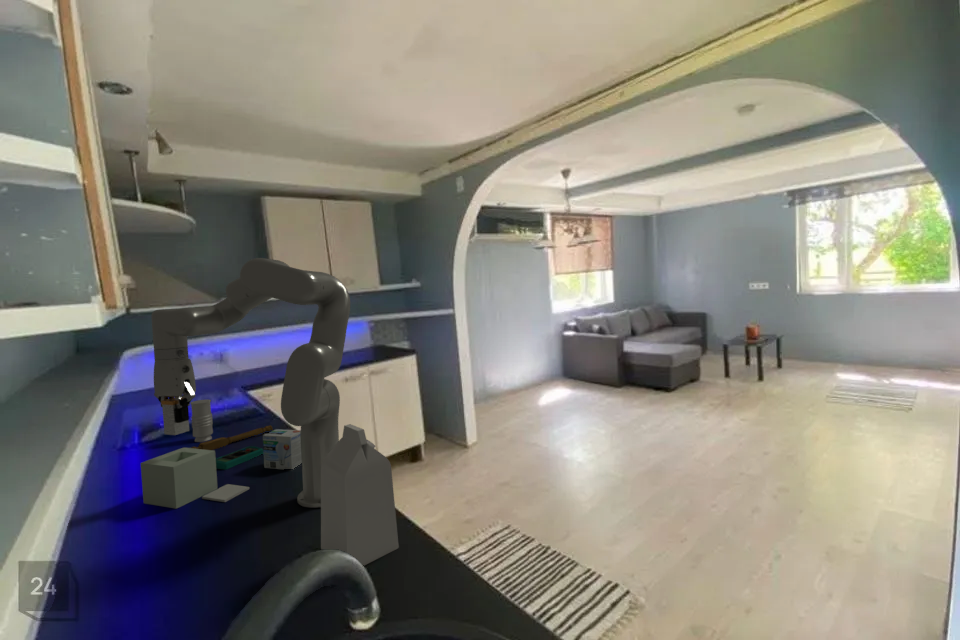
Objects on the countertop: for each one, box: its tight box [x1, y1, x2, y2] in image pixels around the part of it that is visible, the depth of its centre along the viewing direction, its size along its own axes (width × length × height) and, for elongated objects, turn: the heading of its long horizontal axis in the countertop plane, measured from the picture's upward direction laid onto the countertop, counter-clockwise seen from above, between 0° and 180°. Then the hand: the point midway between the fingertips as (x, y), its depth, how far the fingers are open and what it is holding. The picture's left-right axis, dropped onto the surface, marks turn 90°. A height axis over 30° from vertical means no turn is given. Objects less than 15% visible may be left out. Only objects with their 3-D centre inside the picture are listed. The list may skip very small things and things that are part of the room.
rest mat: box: [201, 483, 250, 503], centre depth 119 cm, size 8×8×1 cm
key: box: [160, 397, 190, 436], centre depth 118 cm, size 4×4×9 cm
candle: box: [190, 398, 214, 443], centre depth 168 cm, size 7×7×15 cm
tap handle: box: [190, 424, 274, 451], centre depth 163 cm, size 3×3×30 cm
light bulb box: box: [262, 428, 302, 470], centre depth 138 cm, size 11×7×11 cm, turn 76°
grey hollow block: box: [140, 447, 219, 510], centre depth 119 cm, size 12×12×11 cm
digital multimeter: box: [216, 445, 264, 470], centre depth 144 cm, size 7×15×3 cm, turn 156°
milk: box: [320, 423, 400, 566], centre depth 90 cm, size 12×12×26 cm
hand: (176, 420), depth 118 cm, fingers closed on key, 4 cm apart
